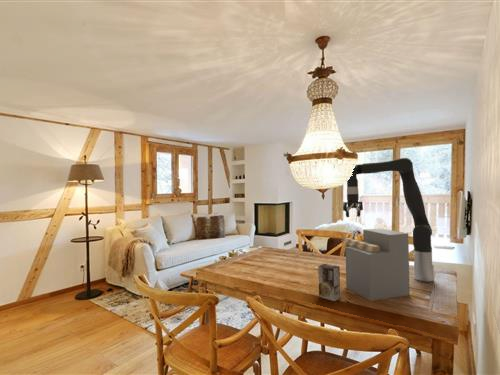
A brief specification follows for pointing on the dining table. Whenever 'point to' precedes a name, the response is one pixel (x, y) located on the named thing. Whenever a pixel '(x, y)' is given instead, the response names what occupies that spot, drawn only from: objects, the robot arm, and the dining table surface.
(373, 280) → the stepped plinth
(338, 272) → the coffee box
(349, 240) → the birch bar
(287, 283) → the dining table surface
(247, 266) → the dining table surface
